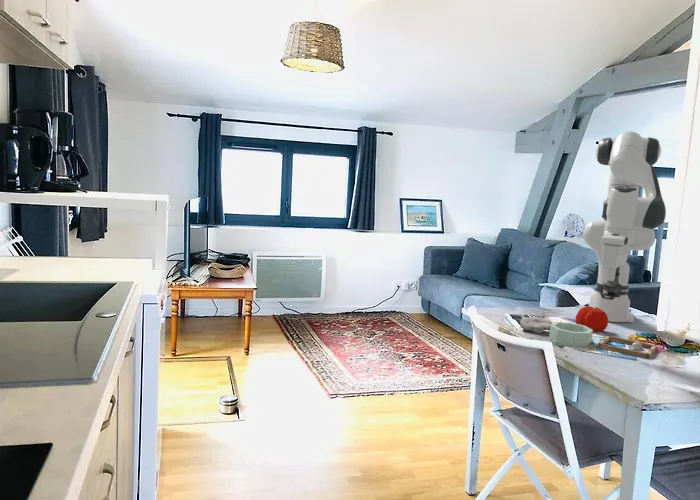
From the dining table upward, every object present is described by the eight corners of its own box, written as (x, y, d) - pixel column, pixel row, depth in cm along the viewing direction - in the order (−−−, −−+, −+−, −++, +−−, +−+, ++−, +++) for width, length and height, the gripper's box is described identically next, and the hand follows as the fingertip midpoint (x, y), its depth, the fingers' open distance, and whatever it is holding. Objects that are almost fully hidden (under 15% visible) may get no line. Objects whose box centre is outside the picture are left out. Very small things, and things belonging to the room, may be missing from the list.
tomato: (575, 325, 212) (578, 303, 211) (607, 330, 207) (610, 307, 206) (572, 331, 203) (575, 308, 202) (605, 337, 198) (608, 313, 197)
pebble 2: (639, 354, 179) (628, 350, 180) (642, 347, 177) (631, 343, 178) (637, 360, 177) (626, 356, 178) (640, 353, 175) (629, 349, 176)
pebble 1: (643, 349, 184) (632, 347, 186) (643, 341, 183) (632, 339, 184) (641, 354, 181) (630, 352, 183) (641, 346, 180) (630, 344, 182)
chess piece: (597, 293, 184) (601, 257, 182) (611, 293, 186) (615, 257, 184) (611, 298, 178) (616, 260, 176) (625, 297, 180) (630, 260, 178)
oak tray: (606, 342, 192) (607, 335, 192) (655, 352, 183) (656, 345, 183) (596, 350, 182) (597, 343, 181) (648, 362, 173) (649, 354, 172)
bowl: (556, 335, 197) (558, 320, 196) (593, 343, 189) (595, 327, 189) (545, 343, 187) (546, 327, 186) (583, 352, 180) (585, 335, 179)
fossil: (553, 327, 196) (527, 314, 197) (544, 343, 198) (518, 329, 199) (550, 319, 204) (525, 306, 205) (541, 334, 206) (516, 321, 207)
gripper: (614, 234, 189) (609, 274, 191) (600, 238, 173) (595, 282, 175) (635, 236, 186) (629, 277, 188) (623, 240, 169) (617, 285, 171)
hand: (613, 279), depth 181 cm, fingers closed on chess piece, 3 cm apart
